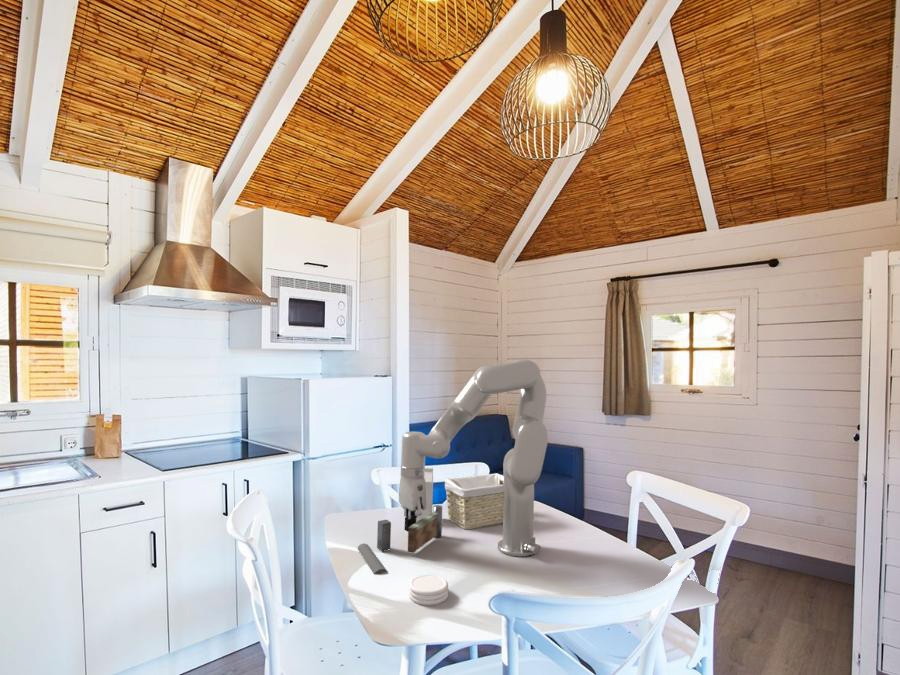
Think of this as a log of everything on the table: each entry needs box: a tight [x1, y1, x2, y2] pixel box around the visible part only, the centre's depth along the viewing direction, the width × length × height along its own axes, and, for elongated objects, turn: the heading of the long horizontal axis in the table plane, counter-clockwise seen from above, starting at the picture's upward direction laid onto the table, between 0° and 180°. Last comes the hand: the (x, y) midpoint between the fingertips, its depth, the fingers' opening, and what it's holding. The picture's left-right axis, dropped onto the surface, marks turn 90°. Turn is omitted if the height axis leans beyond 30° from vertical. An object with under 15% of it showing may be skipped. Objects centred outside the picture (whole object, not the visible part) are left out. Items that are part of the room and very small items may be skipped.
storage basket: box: [444, 472, 504, 530], centre depth 185 cm, size 24×16×15 cm
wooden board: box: [407, 511, 438, 554], centre depth 158 cm, size 16×2×7 cm, turn 155°
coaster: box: [408, 574, 449, 606], centre depth 127 cm, size 10×10×4 cm
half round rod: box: [357, 543, 388, 575], centre depth 148 cm, size 4×20×2 cm, turn 25°
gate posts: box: [376, 504, 443, 552], centre depth 161 cm, size 3×23×10 cm, turn 125°
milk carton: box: [413, 467, 434, 522], centre depth 182 cm, size 7×7×19 cm
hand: (410, 530), depth 157 cm, fingers closed
